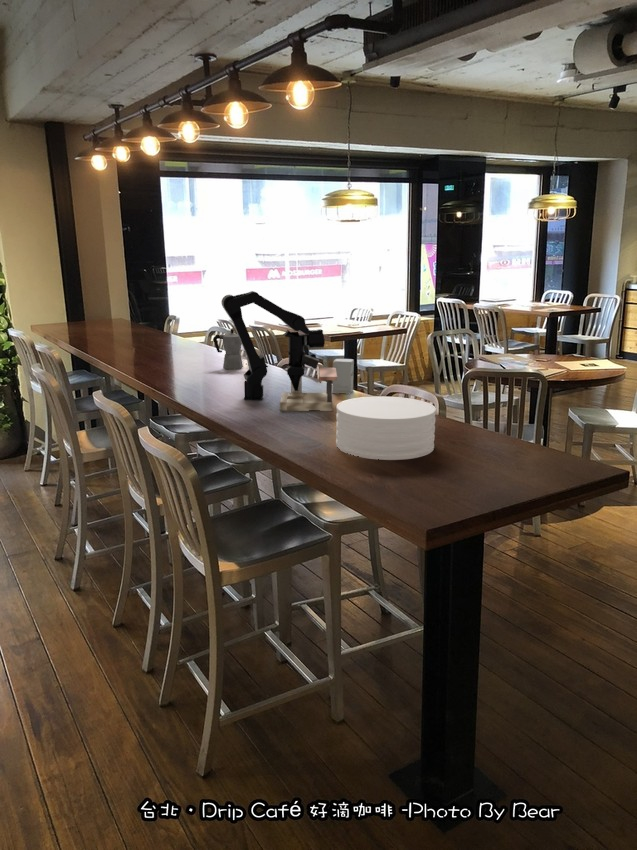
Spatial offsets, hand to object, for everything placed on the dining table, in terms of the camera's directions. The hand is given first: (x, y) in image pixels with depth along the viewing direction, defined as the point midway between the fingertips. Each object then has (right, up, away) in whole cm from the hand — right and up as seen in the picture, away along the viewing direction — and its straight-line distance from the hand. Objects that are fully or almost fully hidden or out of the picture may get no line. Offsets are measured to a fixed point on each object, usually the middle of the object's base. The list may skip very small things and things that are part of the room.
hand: (296, 389), depth 257 cm
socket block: (+4, -7, -15) cm, 17 cm away
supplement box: (+18, -1, +9) cm, 20 cm away
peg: (0, -2, +1) cm, 2 cm away
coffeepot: (-32, +13, +58) cm, 68 cm away
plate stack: (+27, -20, -62) cm, 70 cm away
